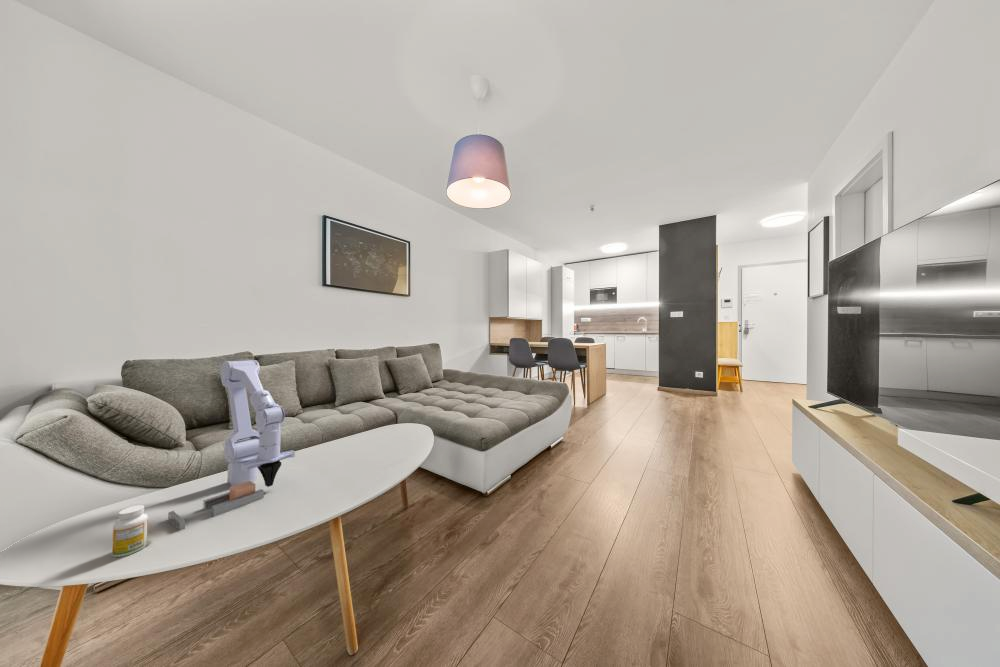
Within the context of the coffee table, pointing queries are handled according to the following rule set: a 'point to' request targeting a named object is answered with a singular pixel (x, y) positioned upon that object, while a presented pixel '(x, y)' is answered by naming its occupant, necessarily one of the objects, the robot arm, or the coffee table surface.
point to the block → (241, 489)
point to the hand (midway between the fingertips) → (269, 485)
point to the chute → (219, 506)
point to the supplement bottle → (130, 531)
